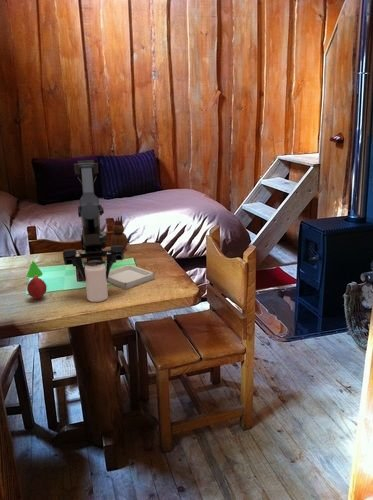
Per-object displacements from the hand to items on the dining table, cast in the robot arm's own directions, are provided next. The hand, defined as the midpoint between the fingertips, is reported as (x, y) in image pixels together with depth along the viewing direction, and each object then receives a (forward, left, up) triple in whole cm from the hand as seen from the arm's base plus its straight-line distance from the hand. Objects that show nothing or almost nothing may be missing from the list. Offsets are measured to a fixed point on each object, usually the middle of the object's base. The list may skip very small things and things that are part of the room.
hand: (96, 279), depth 143 cm
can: (-1, +1, -7) cm, 7 cm away
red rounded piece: (-15, -12, -7) cm, 21 cm away
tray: (-7, +18, -7) cm, 20 cm away
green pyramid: (-36, -2, -7) cm, 37 cm away
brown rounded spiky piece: (-36, +37, -7) cm, 52 cm away
